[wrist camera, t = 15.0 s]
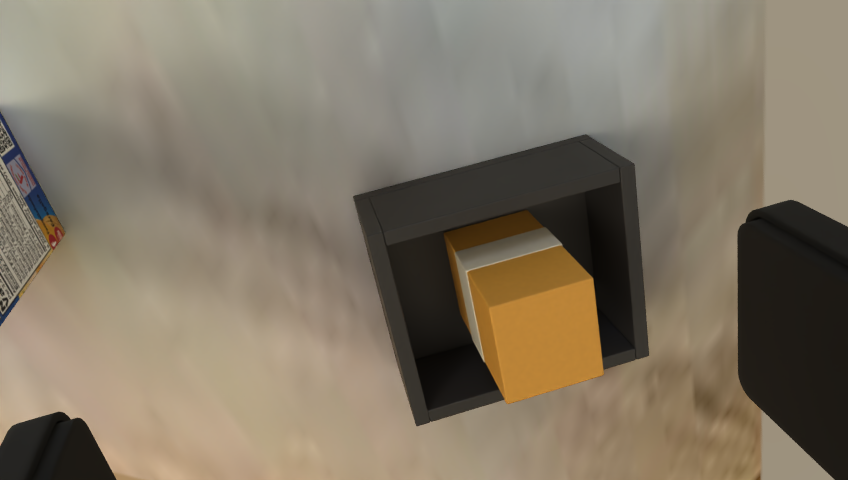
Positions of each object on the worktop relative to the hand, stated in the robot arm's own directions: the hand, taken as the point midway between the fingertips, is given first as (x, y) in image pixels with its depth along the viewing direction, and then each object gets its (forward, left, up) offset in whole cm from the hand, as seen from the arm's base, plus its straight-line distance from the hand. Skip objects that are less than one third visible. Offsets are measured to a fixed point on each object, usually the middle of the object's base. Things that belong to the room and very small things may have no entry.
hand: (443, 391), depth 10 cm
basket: (+13, +7, -28) cm, 32 cm away
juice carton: (+13, +7, -27) cm, 31 cm away
